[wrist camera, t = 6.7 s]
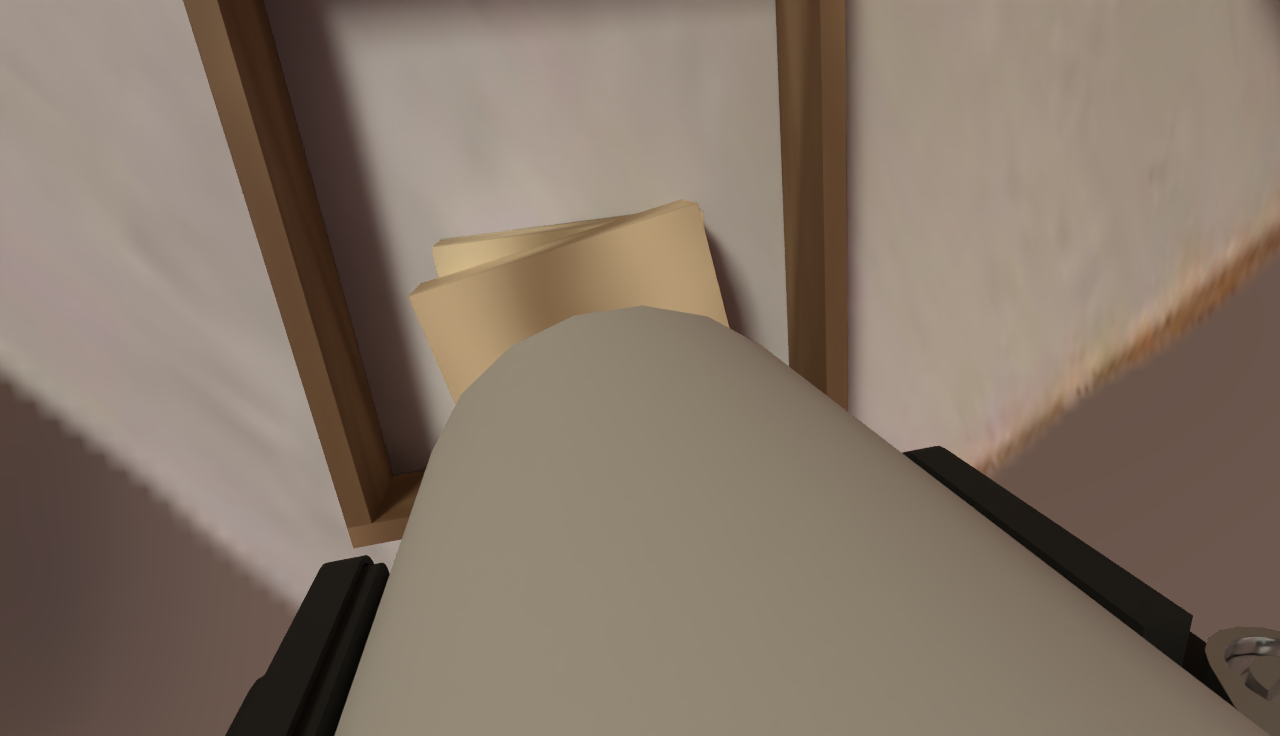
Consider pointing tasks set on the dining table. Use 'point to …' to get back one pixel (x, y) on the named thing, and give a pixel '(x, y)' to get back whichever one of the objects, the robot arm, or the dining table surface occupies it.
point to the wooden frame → (312, 291)
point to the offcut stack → (560, 282)
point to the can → (724, 569)
